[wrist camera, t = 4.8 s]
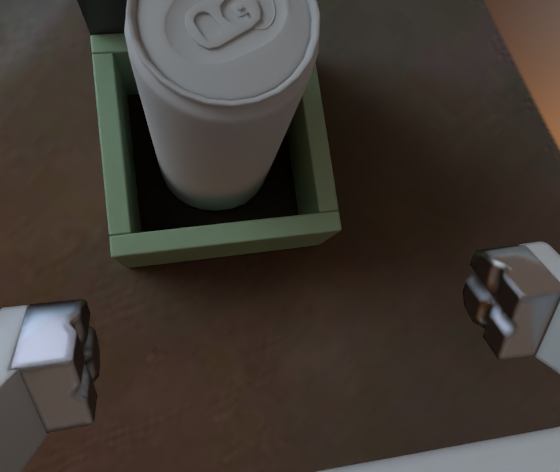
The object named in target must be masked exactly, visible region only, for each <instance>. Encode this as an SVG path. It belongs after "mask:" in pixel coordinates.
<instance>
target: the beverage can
mask: <svg viewBox="0 0 560 472" xmlns="http://www.w3.org/2000/svg"><path fill="white" fill-rule="evenodd" d="M319 31H320V12H319V8H318V4H317V0H127V5H126V18H125V27H124V33H125V38H126V43H127V49H128V54H129V59H130V62H131V66H132V70H133V73H134V77H135V80H136V84H137V88H138V91H139V95H140V98H141V102H142V106H143V109H144V113H145V116H146V120H147V124H148V127H149V131H150V135H151V138H152V142H153V145H154V149H155V153H156V156H157V160H158V163H159V167H160V171H161V174H162V177H163V179H164V181H165V183H166V185H167V187H168V188H169V189H170V190H171V192H172V193H173V194H174V195H175V196H176V197H177V198H178V199H180V200H181V201H183V202H184V203H186V204H188V205H189V206H193V207H196V208H199V209H202V210H215V211H218V210H226V209H232V208H235V207H237V206H240V205H243V204H245V203H246V202H248V201H249V200H250V199H251V198H252V197H254V196H255V195H256V194H257V192H258V191H259V189H260V188H261V186H262V185H263V183H264V181H265V179H266V177H267V174H268V172H269V170H270V168H271V165H272V163H273V161H274V159H275V156H276V154H277V152H278V150H279V147H280V145H281V143H282V141H283V138H284V136H285V134H286V131H287V129H288V127H289V125H290V122H291V120H292V118H293V116H294V113H295V111H296V109H297V107H298V104H299V102H300V100H301V98H302V95H303V93H304V91H305V89H306V86H307V84H308V82H309V80H310V77H311V74H312V71H313V68H314V65H315V62H316V59H317V56H318V45H319Z"/></svg>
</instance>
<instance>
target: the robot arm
mask: <svg viewBox="0 0 560 472" xmlns="http://www.w3.org/2000/svg"><path fill="white" fill-rule="evenodd" d="M470 266H471V267H472V269H473V271H474V272H473V273H472V274H471V275H470V276H469V277H468V279H467V280H466V281H465V285H464V289H463V299H464V305H465V308H466V311H467V313H468V315H469V316H470V318H471V320H472V321H473V322H474V323H476V324H478V325H480V326H481V327H483V328H484V334H483V338H484V339H485V341H486V342H487V344H488V345H489V346H490V348H491V349H492V351H493V352H494V354H495V355H496V357H497V358H498V360H503V359H510V358H518V357H526V356H533V355H536V358H537V359H539V360H540V361H542V362H543V363H545V364H546V365H548V366H549V367H550V368H552V369H553V370H555V371H556V372H558V373H559V374H560V255H559V254H558V253H557V252H556V251H555V250H554V249H553V248H552V247H551V246H550V245H549V244H547V243H545V242H542V241H539V242H532V243H525V244H520V245H514V246H506V247H498V248H491V249H483V250H477V251H476V252H475V253H474V255H473V256H472V259H471V263H470ZM89 321H90V311H89V308H88V305H87V302H86V301H85V300H84V299H77V300H68V301H58V302H48V303H38V304H30V305H23V306H13V307H3V308H1V309H0V472H22V470H23V469H24V467H25V466H26V465H27V463H28V462H29V460H30V459H31V458H32V456H33V455H34V454H35V452H36V451H37V449H38V448H39V447H40V445H41V444H42V443H43V441H44V440H45V438H46V437H47V433H50V432H56V431H61V430H66V429H72V428H77V427H82V426H88V425H93V424H94V420H95V410H96V401H97V393H96V390H95V387H94V383H93V382H94V381H95V380H96V379H97V378H98V377H99V370H100V351H99V344H98V338H97V335H96V331H95V329H93V328H92V327H90V326H89ZM317 472H560V427H555V428H550V429H545V430H539V431H534V432H528V433H523V434H518V435H512V436H507V437H502V438H496V439H491V440H485V441H480V442H475V443H469V444H464V445H458V446H453V447H448V448H442V449H437V450H431V451H426V452H421V453H415V454H410V455H404V456H399V457H393V458H388V459H382V460H377V461H371V462H366V463H360V464H355V465H350V466H344V467H339V468H333V469H328V470H322V471H317Z"/></svg>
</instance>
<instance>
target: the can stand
mask: <svg viewBox="0 0 560 472" xmlns="http://www.w3.org/2000/svg"><path fill="white" fill-rule="evenodd" d="M77 1H78V4H79V6H80V9H81V11H82V14H83V17H84V19H85V22H86V24H87V27H88V30H89V32H90V35H91V37H90V39H91V50H92V54H93V55H92V61H93V71H94V82H95V93H96V103H97V114H98V124H99V135H100V145H101V156H102V167H103V177H104V188H105V198H106V209H107V220H108V230H109V235H110V238H109V241H110V251H111V257H112V258H114V259H115V260H116V261H118V262H119V263H121V264H122V265H123V266H125V267H126V268H133V267H142V266H150V265H158V264H167V263H175V262H183V261H191V260H200V259H208V258H216V257H225V256H233V255H241V254H249V253H258V252H266V251H274V250H283V249H291V248H299V247H307V246H316V245H320V244H321V243H323V242H324V241H326V240H327V239H329V238H330V237H332V236H333V235H335V234H336V233H338V232H339V231H341V229H342V228H341V221H340V215H339V211H338V209H339V208H338V202H337V196H336V189H335V183H334V176H333V170H332V164H331V157H330V151H329V144H328V138H327V132H326V125H325V119H324V113H323V106H322V100H321V93H320V87H319V81H318V74H317V68H316V62H315V65H314V68H313V71H312V74H311V77H310V80H309V82H308V84H307V86H306V89H305V91H304V93H303V95H302V98H301V100H300V102H299V104H298V107H297V109H296V111H295V113H294V116H293V118H292V120H291V122H290V125H289V127H288V129H287V131H286V133H287V140H288V146H289V153H290V160H291V167H292V174H293V181H294V188H295V195H296V201H297V208H298V215H294V216H285V217H276V218H267V219H258V220H249V221H240V222H231V223H222V224H213V225H204V226H194V227H185V228H176V229H167V230H158V231H149V232H142V231H141V221H140V212H139V202H138V192H137V183H136V173H135V163H134V153H133V144H132V134H131V124H130V115H129V105H128V96H127V95H137V94H139V91H138V88H137V84H136V80H135V77H134V73H133V70H132V66H131V62H130V59H129V54H128V49H127V43H126V38H125V33H124V27H125V18H126V5H127V0H77Z"/></svg>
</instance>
